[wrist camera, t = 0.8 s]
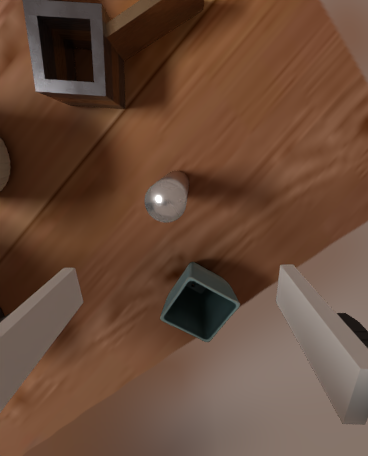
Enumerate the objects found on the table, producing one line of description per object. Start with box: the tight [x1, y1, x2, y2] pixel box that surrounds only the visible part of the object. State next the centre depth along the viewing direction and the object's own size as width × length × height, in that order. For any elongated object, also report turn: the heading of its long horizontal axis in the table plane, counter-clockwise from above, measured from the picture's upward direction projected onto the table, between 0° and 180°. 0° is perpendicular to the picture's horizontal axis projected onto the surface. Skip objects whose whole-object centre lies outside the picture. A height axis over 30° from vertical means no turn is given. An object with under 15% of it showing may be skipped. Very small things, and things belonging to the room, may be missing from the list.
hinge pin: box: [145, 171, 189, 222], centre depth 27 cm, size 4×4×14 cm
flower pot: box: [160, 262, 240, 342], centre depth 35 cm, size 9×9×9 cm
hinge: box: [23, 0, 204, 109], centre depth 24 cm, size 22×18×7 cm
